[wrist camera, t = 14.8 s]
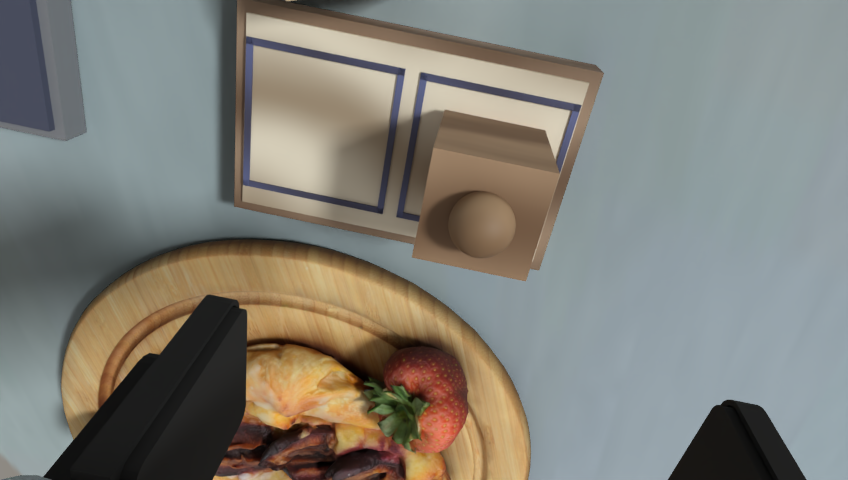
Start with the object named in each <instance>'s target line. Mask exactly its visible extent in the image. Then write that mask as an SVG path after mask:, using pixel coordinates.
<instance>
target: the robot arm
mask: <svg viewBox="0 0 848 480" xmlns="http://www.w3.org/2000/svg"><path fill="white" fill-rule="evenodd" d="M246 366H247V310H246V309H242V308H239V302H238V301H237V300H235V299H230V298H225V297H220V296H215V295H210V294H209V295H206V296H205V297H204V298H203V300H202V301H201V302H200V304H199V305H198V306H197V307H196V309H195V310H194V311H193V312H192V314H191V315H190V316H189V318H188V319H187V320H186V321H185V323H184V324H183V325H182V327H181V328H180V329H179V330H178V332H177V333H176V334H175V335H174V337H173V338H172V339H171V341H170V342H169V343H168V344H167V346H166V347H165V348H164V350H163V351H162V352H161V353H160V355H159V354H153V353H149V354H146V355H144V356H143V357H142V358H141V359H140V360H139V361H138V362H137V363H136V365H135V366H134V367H133V368H132V370H131V371H130V372H129V373H128V374H127V376H126V377H125V378H124V379H123V381H122V382H121V383H120V384H119V385H118V387H117V388H116V389H115V390H114V391H113V393H112V394H111V395H110V396H109V398H108V399H107V400H106V401H105V402H104V404H103V405H102V406H101V407H100V409H99V410H98V411H97V412H96V413H95V415H94V416H93V417H92V418H91V419H90V421H89V422H88V423H87V424H86V426H85V427H84V428H83V429H82V430H81V432H80V433H79V434H78V435H77V437H76V438H75V439H74V440H73V441H72V443H71V444H70V445H69V446H68V447H67V449H66V450H65V451H64V452H63V454H62V455H61V456H60V457H59V458H58V460H57V461H56V462H55V463H54V465H53V466H52V467H51V468H50V469H49V471H48V472H47V473H46V474H45V475H44V477H41V476H38V475H20V476H15V477H11V478H7V479H2V480H213V478H214V476H215V474H216V472H217V470H218V468H219V466H220V464H221V462H222V460H223V458H224V456H225V454H226V452H227V450H228V448H229V446H230V444H231V442H232V440H233V438H234V436H235V434H236V432H237V430H238V428H239V426H240V424H241V422H242V419H243V416H244V413H245V408H246ZM668 480H806V478H805V477H804V475H803V473H802V472H801V470H800V468H799V467H798V465H797V463H796V462H795V460H794V458H793V457H792V455H791V453H790V452H789V450H788V448H787V447H786V445H785V443H784V442H783V440H782V438H781V437H780V435H779V433H778V432H777V430H776V428H775V427H774V425H773V423H772V422H771V420H770V418H769V417H768V415H767V413H766V412H765V411H764V409H763V408H762V407H760V406H758V405H754V404H749V403H744V402H739V401H734V400H726V401H724V402H723V403H722V404H721V405H716V406H714V407H713V408H712V410H711V411H710V413H709V415H708V416H707V418H706V419H705V421H704V423H703V424H702V426H701V427H700V429H699V431H698V432H697V434H696V435H695V437H694V439H693V440H692V442H691V443H690V445H689V447H688V448H687V450H686V452H685V453H684V455H683V456H682V458H681V460H680V461H679V463H678V464H677V466H676V468H675V469H674V471H673V472H672V474H671V476H670V477H669V479H668Z"/></svg>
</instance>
